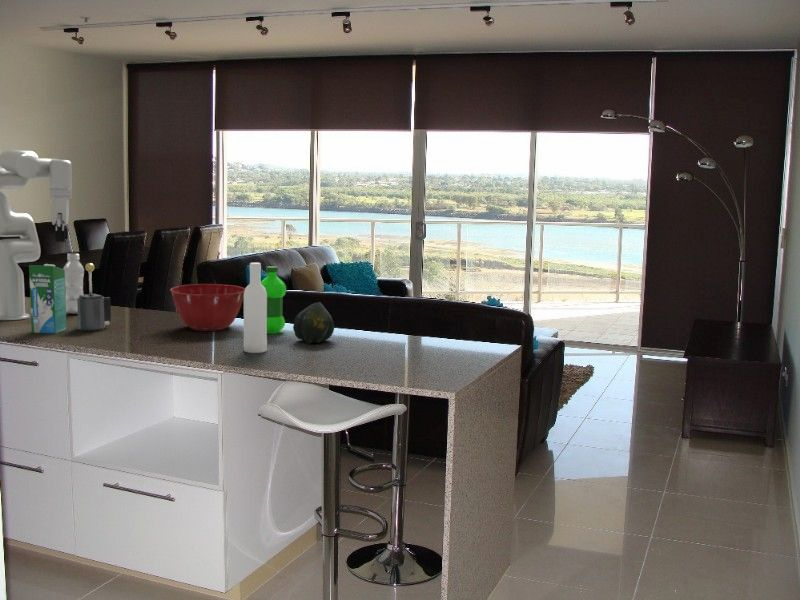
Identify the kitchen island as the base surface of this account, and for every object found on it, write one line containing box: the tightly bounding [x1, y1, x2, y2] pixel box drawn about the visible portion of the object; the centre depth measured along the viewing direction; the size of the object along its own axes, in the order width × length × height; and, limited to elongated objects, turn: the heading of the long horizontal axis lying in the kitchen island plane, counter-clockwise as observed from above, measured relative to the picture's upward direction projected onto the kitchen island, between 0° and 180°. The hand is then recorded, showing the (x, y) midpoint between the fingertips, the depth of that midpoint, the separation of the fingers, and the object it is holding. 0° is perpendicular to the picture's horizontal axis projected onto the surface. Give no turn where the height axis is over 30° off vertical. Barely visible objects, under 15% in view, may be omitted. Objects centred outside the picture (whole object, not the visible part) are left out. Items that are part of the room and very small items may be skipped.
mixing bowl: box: [169, 283, 246, 332], centre depth 336 cm, size 28×28×16 cm
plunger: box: [85, 262, 95, 296], centre depth 327 cm, size 6×6×16 cm
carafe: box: [77, 293, 112, 332], centre depth 330 cm, size 9×12×13 cm
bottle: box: [243, 262, 268, 354], centre depth 294 cm, size 8×8×30 cm
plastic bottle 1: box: [63, 253, 85, 315], centre depth 361 cm, size 8×8×25 cm
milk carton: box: [28, 263, 67, 335], centre depth 322 cm, size 9×9×25 cm
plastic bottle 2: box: [261, 265, 287, 335], centre depth 330 cm, size 10×10×25 cm
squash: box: [292, 301, 335, 345], centre depth 315 cm, size 14×15×15 cm
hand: (61, 240), depth 323 cm, fingers open, 9 cm apart
